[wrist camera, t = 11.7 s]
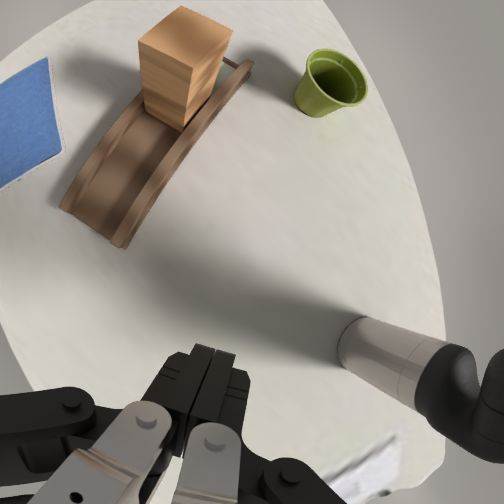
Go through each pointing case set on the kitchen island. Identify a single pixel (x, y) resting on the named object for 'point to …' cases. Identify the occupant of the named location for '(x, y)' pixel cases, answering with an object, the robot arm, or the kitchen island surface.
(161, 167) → the chute
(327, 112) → the plant pot
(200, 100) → the block
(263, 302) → the kitchen island surface
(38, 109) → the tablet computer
